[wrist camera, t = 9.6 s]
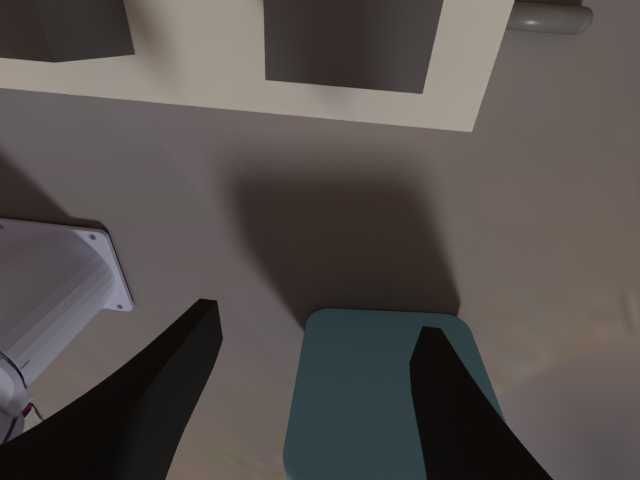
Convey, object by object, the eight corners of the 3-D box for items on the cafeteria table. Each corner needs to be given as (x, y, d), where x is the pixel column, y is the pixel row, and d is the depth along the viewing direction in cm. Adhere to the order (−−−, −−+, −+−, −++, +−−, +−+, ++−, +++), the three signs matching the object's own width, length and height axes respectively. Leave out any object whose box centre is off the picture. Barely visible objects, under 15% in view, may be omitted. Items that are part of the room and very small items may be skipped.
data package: (311, 343, 28) (285, 518, 18) (308, 305, 25) (276, 484, 15) (454, 351, 26) (512, 544, 16) (465, 312, 24) (542, 512, 14)
